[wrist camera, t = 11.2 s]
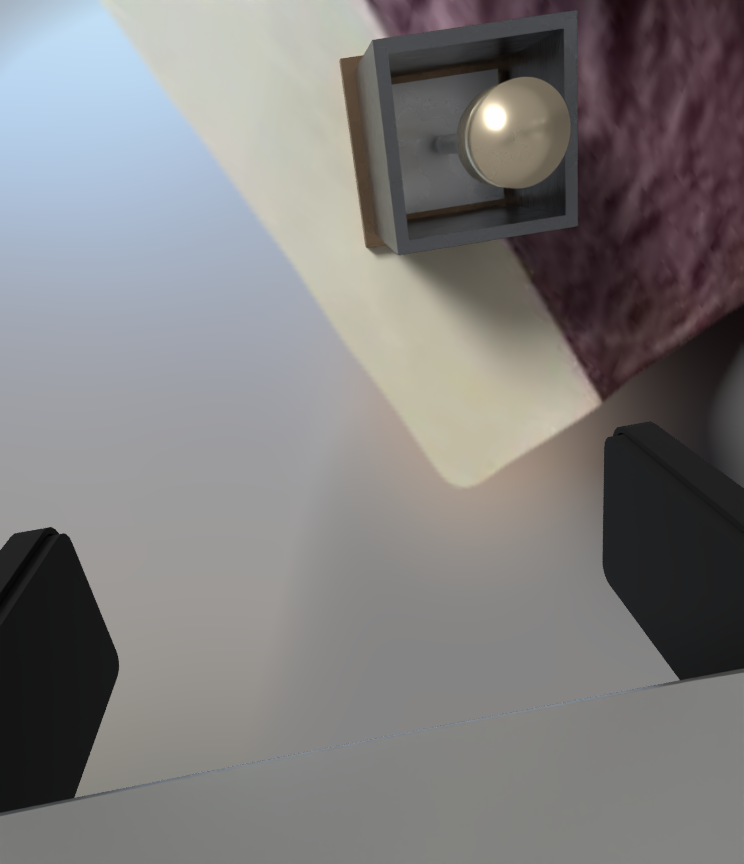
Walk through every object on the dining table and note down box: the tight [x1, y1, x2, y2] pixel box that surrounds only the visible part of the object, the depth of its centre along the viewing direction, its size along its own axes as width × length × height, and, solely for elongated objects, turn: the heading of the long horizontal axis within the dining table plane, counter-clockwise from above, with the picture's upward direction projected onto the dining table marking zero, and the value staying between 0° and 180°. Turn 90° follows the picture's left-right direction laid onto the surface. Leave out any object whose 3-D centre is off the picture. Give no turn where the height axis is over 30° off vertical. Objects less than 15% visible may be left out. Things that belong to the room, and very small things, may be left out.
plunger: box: [392, 69, 570, 214], centre depth 35 cm, size 8×8×17 cm
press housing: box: [340, 10, 578, 255], centre depth 38 cm, size 12×12×12 cm
